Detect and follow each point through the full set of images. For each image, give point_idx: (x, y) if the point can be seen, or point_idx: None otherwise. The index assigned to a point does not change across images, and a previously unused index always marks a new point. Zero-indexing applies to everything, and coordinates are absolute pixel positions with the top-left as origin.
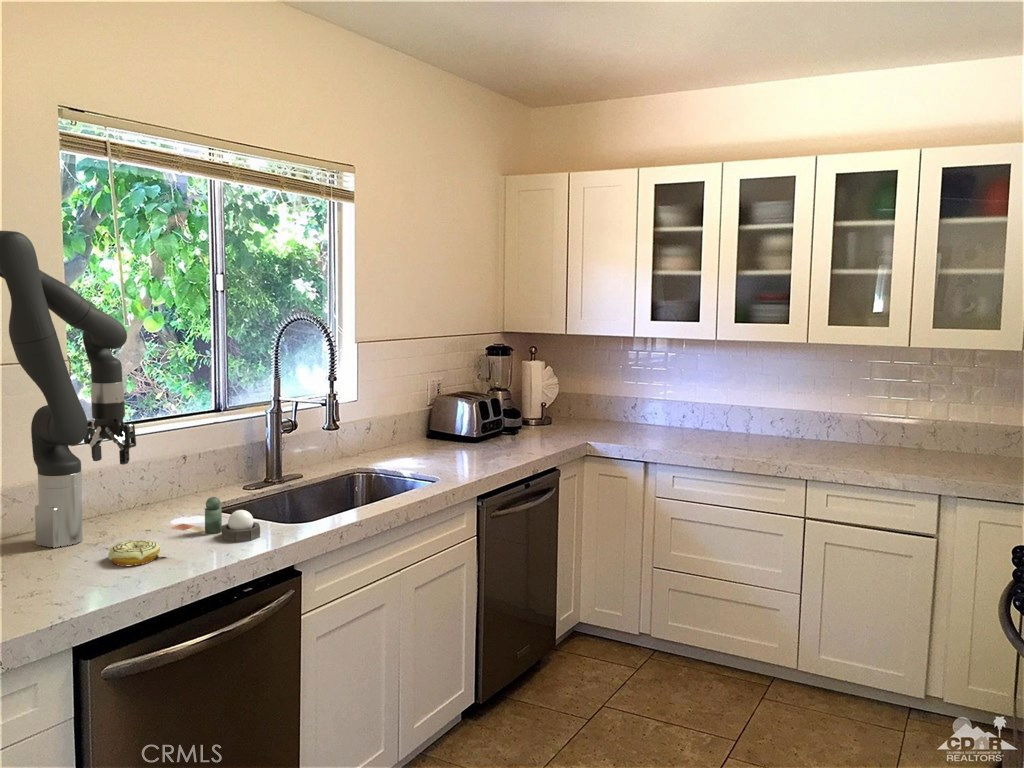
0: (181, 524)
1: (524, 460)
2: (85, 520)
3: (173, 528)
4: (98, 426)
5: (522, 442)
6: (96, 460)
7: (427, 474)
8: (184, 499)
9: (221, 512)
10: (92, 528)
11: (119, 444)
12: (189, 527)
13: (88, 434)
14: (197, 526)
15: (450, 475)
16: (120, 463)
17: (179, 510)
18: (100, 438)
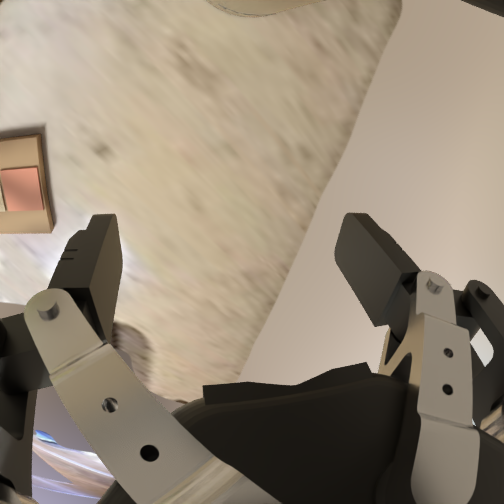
0: (39, 203)
1: (57, 468)
2: (326, 157)
3: (27, 168)
4: (467, 502)
5: (104, 485)
6: (345, 222)
7: (69, 451)
8: (225, 346)
9: None
10: (261, 99)
11: (64, 340)
12: (7, 194)
13: (499, 347)
14: (3, 209)
15: (52, 450)
16: (108, 214)
17: (173, 300)
18: (394, 367)
